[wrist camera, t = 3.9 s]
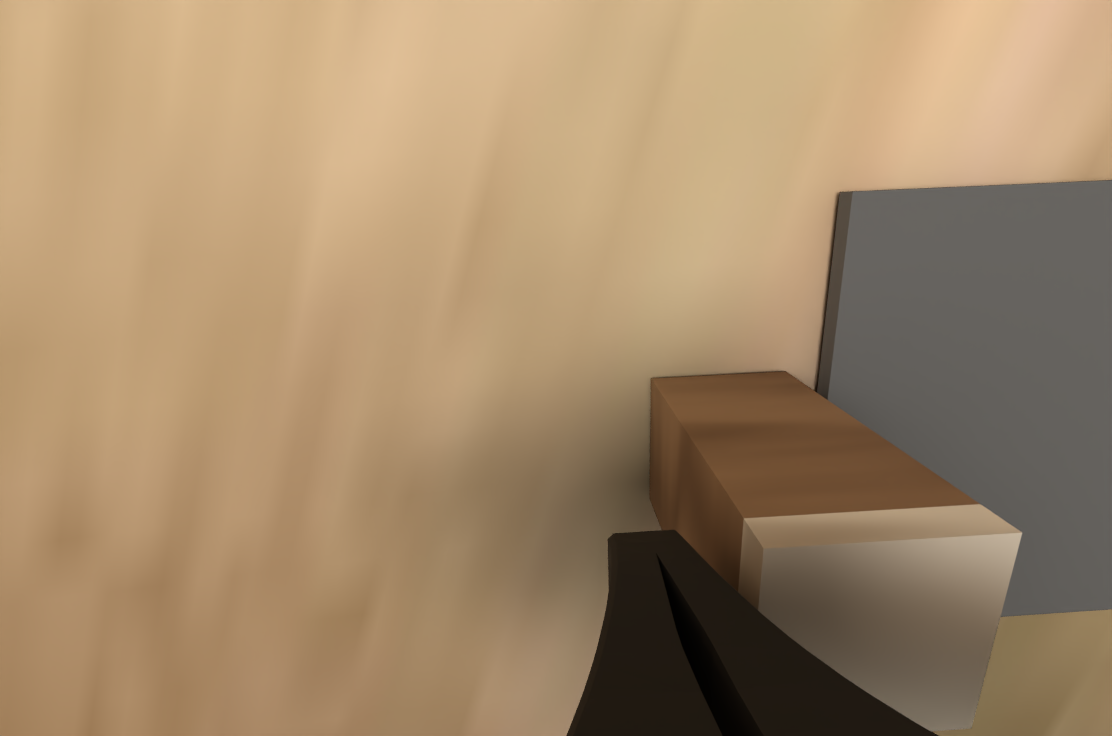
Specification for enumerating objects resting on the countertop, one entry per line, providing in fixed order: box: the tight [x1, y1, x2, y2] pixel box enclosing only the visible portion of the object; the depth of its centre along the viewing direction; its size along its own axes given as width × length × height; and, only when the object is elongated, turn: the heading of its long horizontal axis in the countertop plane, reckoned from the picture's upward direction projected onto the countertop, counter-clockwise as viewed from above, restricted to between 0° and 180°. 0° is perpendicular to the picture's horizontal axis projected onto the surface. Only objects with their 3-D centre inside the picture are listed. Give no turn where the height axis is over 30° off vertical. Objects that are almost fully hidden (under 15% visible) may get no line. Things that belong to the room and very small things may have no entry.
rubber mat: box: [817, 180, 1112, 617], centre depth 16 cm, size 14×16×1 cm
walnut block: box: [650, 371, 1022, 731], centre depth 13 cm, size 4×4×8 cm
